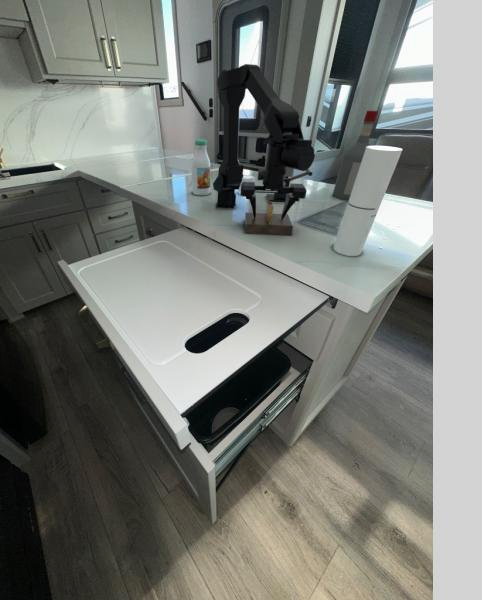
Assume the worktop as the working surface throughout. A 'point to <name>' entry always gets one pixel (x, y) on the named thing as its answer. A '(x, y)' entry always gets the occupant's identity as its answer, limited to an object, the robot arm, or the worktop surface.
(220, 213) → the worktop surface
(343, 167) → the liquor
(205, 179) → the milk bottle
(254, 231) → the brown flat block
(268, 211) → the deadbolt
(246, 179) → the shot glass
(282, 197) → the latch bracket
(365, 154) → the cylindrical container
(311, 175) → the latch
